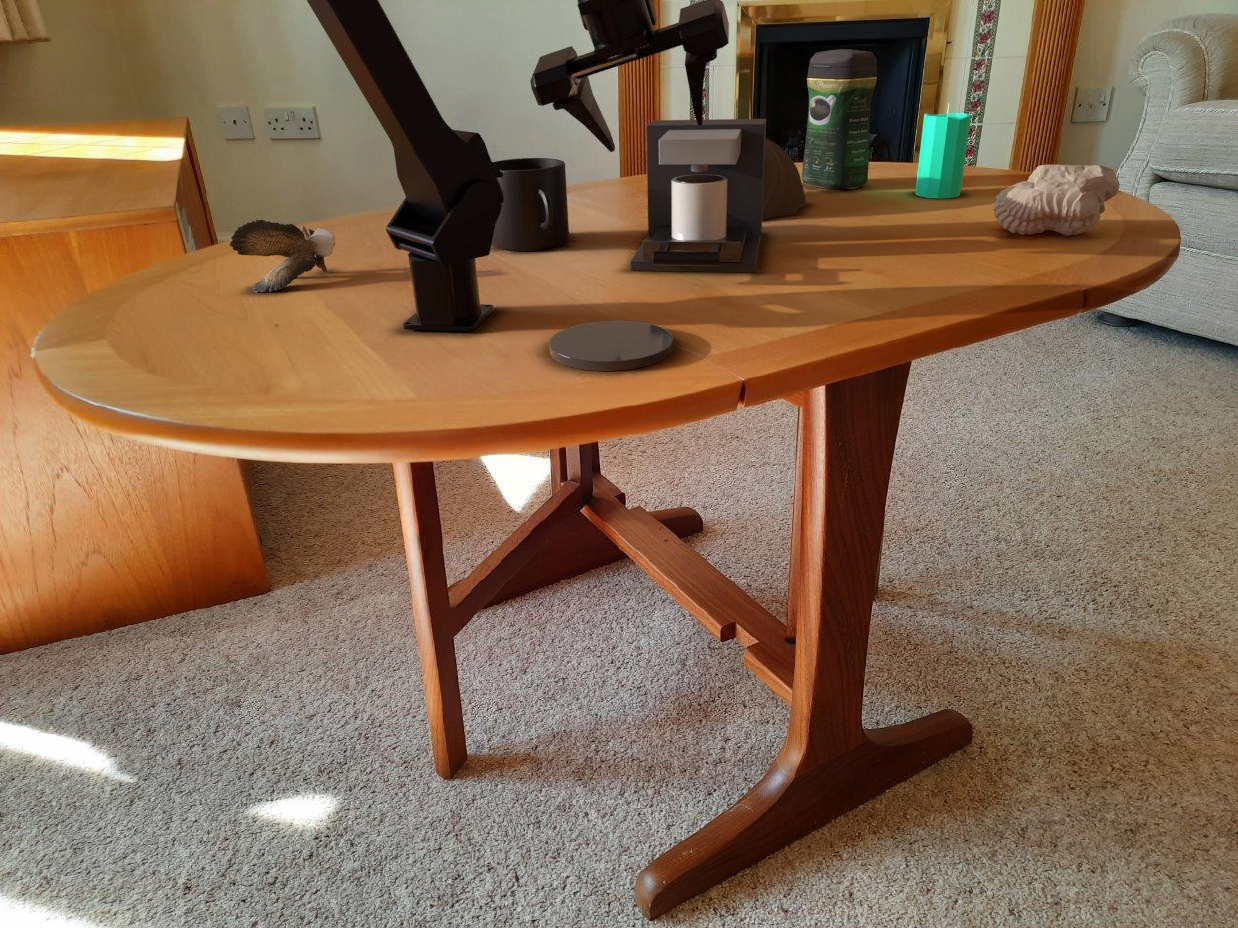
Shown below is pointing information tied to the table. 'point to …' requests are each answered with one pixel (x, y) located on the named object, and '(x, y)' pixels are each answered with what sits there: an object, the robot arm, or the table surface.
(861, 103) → the coffee jar
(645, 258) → the tray
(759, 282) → the table surface
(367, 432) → the table surface
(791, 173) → the decorative dome
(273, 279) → the eagle figurine
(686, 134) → the coffee machine
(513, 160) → the mug
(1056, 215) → the fossil replica
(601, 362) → the coaster
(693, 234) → the white cup
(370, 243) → the table surface
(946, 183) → the candle
